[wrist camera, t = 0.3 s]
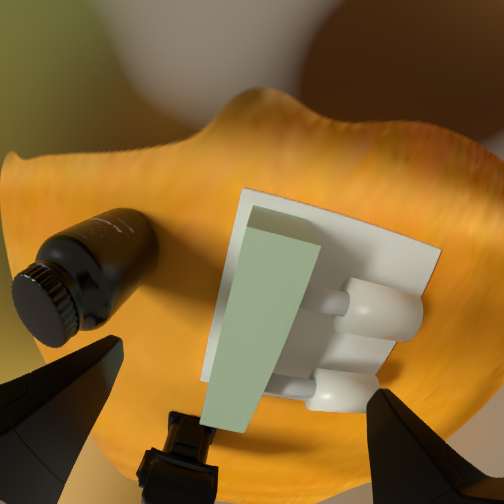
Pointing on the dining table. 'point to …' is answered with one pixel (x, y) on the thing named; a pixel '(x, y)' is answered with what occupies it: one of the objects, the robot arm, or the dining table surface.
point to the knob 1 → (368, 309)
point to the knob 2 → (328, 389)
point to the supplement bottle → (85, 275)
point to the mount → (295, 299)
